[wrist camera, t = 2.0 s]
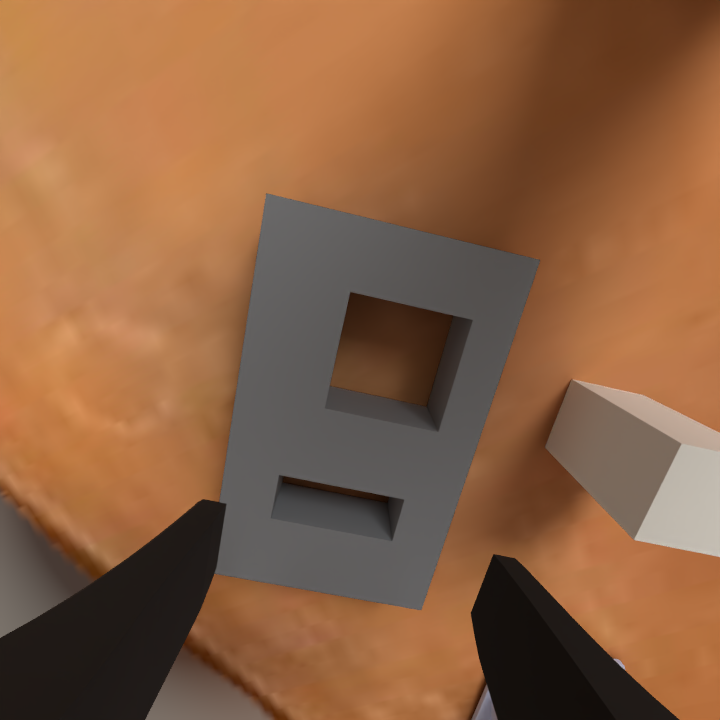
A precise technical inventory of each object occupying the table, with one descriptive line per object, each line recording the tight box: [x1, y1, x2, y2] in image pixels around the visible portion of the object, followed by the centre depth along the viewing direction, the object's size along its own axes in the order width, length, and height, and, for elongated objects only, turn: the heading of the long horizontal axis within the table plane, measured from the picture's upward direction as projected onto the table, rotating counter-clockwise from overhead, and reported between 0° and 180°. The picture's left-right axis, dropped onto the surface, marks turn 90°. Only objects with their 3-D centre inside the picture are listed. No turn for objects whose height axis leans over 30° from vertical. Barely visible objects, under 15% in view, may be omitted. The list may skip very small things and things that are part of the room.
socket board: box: [214, 193, 540, 610], centre depth 19 cm, size 18×11×3 cm, turn 167°
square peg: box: [545, 379, 720, 557], centre depth 17 cm, size 4×4×7 cm
